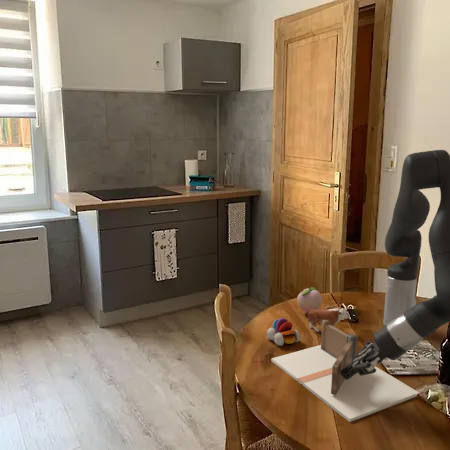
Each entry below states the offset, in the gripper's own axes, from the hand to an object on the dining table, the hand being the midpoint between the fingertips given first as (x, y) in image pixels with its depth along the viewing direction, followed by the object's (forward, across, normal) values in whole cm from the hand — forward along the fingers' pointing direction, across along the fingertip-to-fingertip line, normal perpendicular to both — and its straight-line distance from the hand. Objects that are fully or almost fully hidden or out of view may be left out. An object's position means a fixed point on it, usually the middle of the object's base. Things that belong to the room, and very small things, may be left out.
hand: (343, 375), depth 119 cm
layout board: (+4, -7, +3) cm, 9 cm away
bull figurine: (+8, -36, -1) cm, 37 cm away
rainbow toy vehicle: (+17, -25, -10) cm, 32 cm away
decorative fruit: (+13, -49, -6) cm, 51 cm away
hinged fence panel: (+3, -4, +2) cm, 5 cm away
